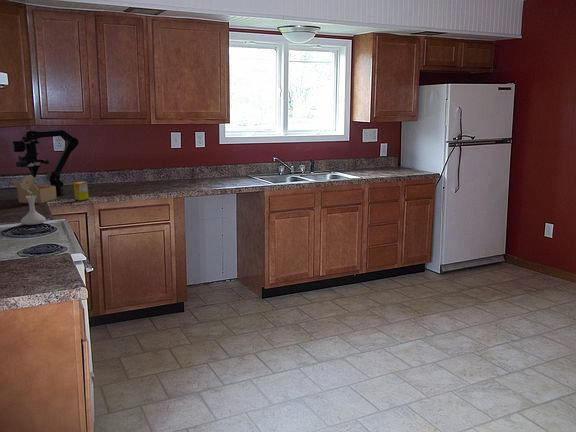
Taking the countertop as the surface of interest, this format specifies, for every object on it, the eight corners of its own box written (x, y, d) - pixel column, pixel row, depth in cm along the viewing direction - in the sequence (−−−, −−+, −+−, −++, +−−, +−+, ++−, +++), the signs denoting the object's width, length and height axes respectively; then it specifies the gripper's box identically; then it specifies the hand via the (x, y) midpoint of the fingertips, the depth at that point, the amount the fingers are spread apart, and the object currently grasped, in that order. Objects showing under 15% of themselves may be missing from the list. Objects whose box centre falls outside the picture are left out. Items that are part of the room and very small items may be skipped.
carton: (35, 197, 348) (34, 185, 346) (57, 199, 343) (56, 186, 341) (18, 202, 334) (16, 188, 332) (40, 203, 330) (39, 190, 328)
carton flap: (11, 180, 327) (10, 180, 326) (32, 181, 323) (31, 181, 322) (17, 188, 332) (17, 189, 332) (38, 189, 328) (37, 190, 328)
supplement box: (83, 199, 344) (82, 181, 341) (89, 200, 340) (87, 182, 338) (74, 200, 339) (73, 182, 337) (80, 201, 335) (78, 183, 333)
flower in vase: (19, 223, 281) (13, 173, 276) (43, 220, 288) (38, 171, 282) (24, 228, 271) (18, 176, 265) (49, 225, 277) (44, 174, 272)
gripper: (37, 149, 353) (39, 174, 356) (9, 152, 337) (11, 177, 341) (48, 150, 347) (50, 175, 350) (20, 153, 332) (23, 179, 335)
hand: (34, 177), depth 344 cm, fingers closed
